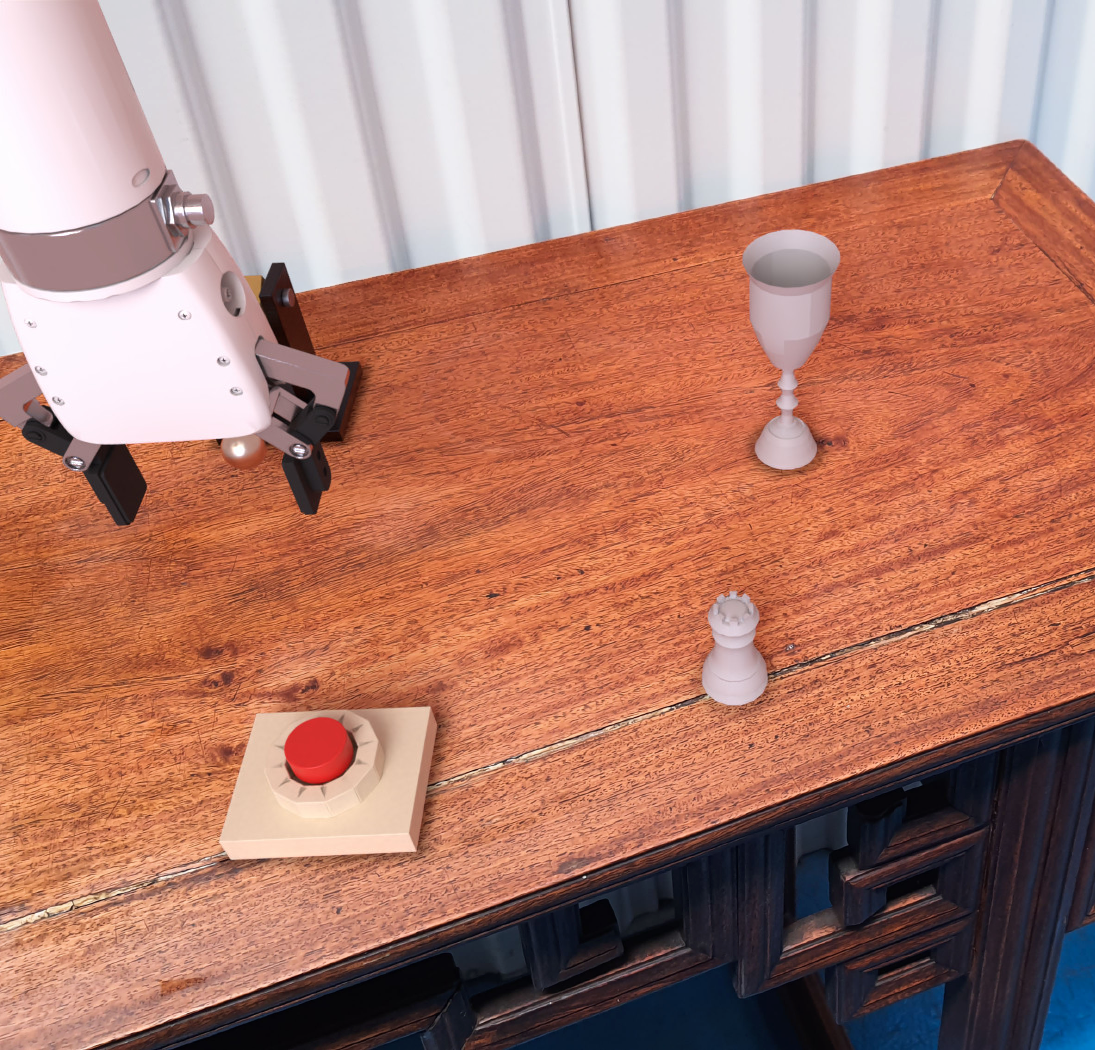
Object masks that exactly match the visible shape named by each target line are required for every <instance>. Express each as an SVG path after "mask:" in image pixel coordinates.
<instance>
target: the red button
mask: <svg viewBox="0 0 1095 1050" xmlns="http://www.w3.org/2000/svg"><path fill="white" fill-rule="evenodd" d="M284 754H285V757H286V759H287V761H288V763H289V765H290V766H291V768H292V770H293V772H294V774H295V775H296V777H297V778H299V779H300V780H302V781H304V782H306V783H311V784H321V783H325V782H329V781H331V780H333V779H335V778H337V777H338V776H340V775H341V774H342V773H343V772H344V771H345V770H346V769H347V768H348V767H349V765H350V763H351V761H352V758H353V754H354V749H353V745H352V743H351V741H350V738H349V736H348V734H347V732H346V729H345V728H344V726H343V725H342V724H341V723H340V722H339V721H337V720H335V719H332V718H328V717H318V718H313V719H310V720H307V721H305V722H303V723H301V724H300V725H298V726H297V727H296V728H295V729H294V730H293V731H292V732H291V733H290V734H289V736H288V737H287V739H286V742H285V746H284Z"/></svg>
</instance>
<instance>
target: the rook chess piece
mask: <svg viewBox="0 0 1095 1050" xmlns="http://www.w3.org/2000/svg"><path fill="white" fill-rule="evenodd" d="M728 594H729V595H728V596H725V595H724V593H721V594H720V595H718V596H717V597H716V601H715V602H714V603H713V604H712V605H711V606H710V608H709V610H708V612H707V622H708V623H709V626H710V627H711V635H712V637H713V640H714V645H713V648H711V650H710V651H709V653H708V654H707V656H706V657H705V659H704V661H703V664H702V672H701V685H702V688H703V689H704V691H705V693H706V694H707V695H708V696H709V697H710V698H712V699H713V700H714V701H715V702H718V703H721V704H723V705H726V706H743V705H746V704H749V703H751V702H754V701H755V700H757V699H758V698H759V697H760V696H761V695H762V694H763V693H764V691H765V690H766V688H767V686H768V682H769V681H768V680H769V679H768V677H769V676H768V671H767V670H768V669H767V663H766V661H765V659H764V657H763V656H762V653H761V652H760V651H759V650H758V648H757V647H756V646H755V643H754V638H755V637H756V633H757V631H756V629H757V625H758V624H759V621H760V611H759V609H758V607H757V606H756V604H755V603H753V602H752V601H751V597H750V596H749V595H747V593H743V594H742V595H741V596H740V595H738V591H737V590H729V593H728Z"/></svg>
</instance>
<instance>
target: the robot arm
mask: <svg viewBox="0 0 1095 1050" xmlns="http://www.w3.org/2000/svg"><path fill="white" fill-rule="evenodd" d="M134 87H135V86H134V85H133V83H132V81H131V77H130V76H129V73H128V71H127V68H126V66H125V63H124V60H123V59H122V56H121V53H120V51H119V49H118V46H117V44H116V41H115V39H114V36H113V34H112V32H111V29H110V27H109V25H108V22H107V20H106V17H105V15H104V12H103V10H102V7H101V5H100V2H99V0H0V258H1V260H2V261H1V263H0V286H1V289H2V294H3V297H4V301H5V305H6V308H7V311H8V314H9V318H10V321H11V324H12V327H13V329H14V332H15V335H16V338H17V341H18V343H19V346H20V347H21V350H22V352H23V354H24V358H25V359H26V361H27V363H25V364H23V365H21V366H20V367H18V368H16V369H15V370H13V371H12V372H10V373H8V374H6V375H4V376H3V377H1V378H0V418H1V419H2V420H3V421H5V422H7V423H8V424H9V425H11V426H12V427H13V428H18V429H20V430H21V435H22V437H23V438H24V439H25V440H26V441H28V443H29V442H30V443H32V444H33V445H36V446H38V447H40V448H42V449H45V450H46V451H48V452H51V453H53V454H55V455H58V456H59V457H62V458H61V461H62V464H63V465H64V467H65V468H67V469H68V470H71V471H73V472H77V473H80V472H82V474H83V475H84V477H85V478H86V481H87V482H88V484H89V485H90V488H91V489H92V491H93V493H94V494H95V496H96V497H97V499H98V501H99V502H100V503H101V504H102V505H104V506H105V509H106V510H107V511H108V513H109V514H110V517H111V518H112V520H113V521H114V523H115V525H116V526H118V527H124V526H126V527H127V526H130V525H131V524H132V523H134V522H135V520H136V518H137V515H138V512H139V510H140V507H141V505H142V502H143V500H144V498H145V495H146V493H147V490H148V484H147V481H146V479H145V477H144V475H143V473H142V472H141V470H140V468H139V466H138V465H137V463H136V461H135V459H134V458H133V457H134V456H133V455H132V453H131V451H130V450H129V448H128V446H127V445H129V444H130V445H131V444H151V443H152V444H153V443H172V442H174V443H175V442H188V441H189V442H191V441H207V440H216V439H221V438H233V437H242V436H248V435H253V434H254V435H256V436H258V437H260V438H261V439H263V440H265V441H266V442H268V443H270V444H269V445H271V446H273V447H275V448H276V449H278V450H279V451H281V452H283V456H282V457H281V458H282V459H281V468H282V470H283V473H284V475H285V478H286V480H287V482H288V485H289V487H290V490H291V492H292V495H293V497H294V499H295V501H296V504H297V507H298V509H299V511H300V513H302V514H304V516H315V515H317V513H318V512H319V511H318V510H319V507H320V503H321V499H322V495H323V492H328V491H329V490H330V487H331V484H332V469H331V467H330V464H329V461H328V458H327V455H326V453H325V450H324V448H323V446H322V442H320V440H321V439H322V437H323V436H324V435H325V434H326V433H327V432H328V431H329V430H330V429H331V428H332V427H333V425H334V424H335V421H336V417H337V414H338V411H339V408H340V405H341V402H342V399H343V396H344V393H345V390H346V386H347V382H348V378H349V375H350V371H349V368H348V367H347V366H346V365H343V364H341V363H338V362H339V361H334V360H331V359H328V358H324V357H322V356H318V355H316V356H315V355H312V354H309V353H306V352H302V351H299V350H296V349H293V348H289V347H286V346H283V345H280V344H278V342H277V340H276V338H275V336H274V333H273V331H272V329H271V327H270V325H269V323H268V321H267V319H266V317H265V315H264V313H263V311H262V309H261V307H260V305H259V303H258V301H257V299H256V297H255V295H254V293H253V291H252V290H251V288H250V286H249V284H248V282H247V281H246V279H245V277H244V276H245V275H244V274H243V271H242V270H241V269H240V266H238V264H237V262H236V261H235V259H234V258H233V256H232V255H231V253H230V252H229V250H228V249H227V247H226V246H225V245H224V242H222V240H221V239H220V237H219V236H218V235H217V233H216V232H215V230H214V229H213V228H212V227H211V226H210V225H213V224H214V222H215V208H214V203H213V200H212V198H211V197H210V195H209V194H207V193H193V194H192V192H190V191H183V190H182V188H181V187H180V186H179V184H178V180H177V179H176V176H175V174H174V171H173V169H167V166H166V163H165V161H164V158H163V156H162V153H161V150H160V148H159V146H158V143H157V141H156V138H155V136H154V133H153V131H152V129H151V126H150V124H149V122H148V119H147V117H146V114H145V112H144V109H143V107H142V105H141V102H140V100H139V97H138V95H137V92H136V90H135V88H134ZM286 383H290V384H293V385H296V386H300V387H303V388H306V389H309V390H311V391H312V392H313V393H314V394H315V397H314V398H313V399H312V400H311V401H310V402H309V403H308V404H306V403H305V402H303V401H301V400H300V399H298V398H297V397H295V396H293V395H292V394H290V393H289V392H287V391H286V390H284V389H282V388H281V387H279V386H278V385H277V384H286ZM41 395H43V396H44V398H45V400H46V403H47V404H48V405H45V404H40V403H41V401H39V400H38V399H37V398H38V397H39V396H41ZM273 412H275V413H277V414H278V415H280V416H282V417H283V418H285V419H286V420H288V421H290V422H291V424H290V425H289V426H287V425H286V424H284V423H283V422H281V421H279V420H278V419H276V418H274V417H272V415H273Z"/></svg>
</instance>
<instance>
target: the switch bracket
mask: <svg viewBox="0 0 1095 1050" xmlns="http://www.w3.org/2000/svg"><path fill="white" fill-rule="evenodd" d="M264 279H265V281H264V283H263V286H262V288H261V291H260V293H259V299H260V301H261V304H262V307H263V310H264V312H265V315H266V318H267V320H268V323H269V325H270V327H271V329H272V331H273V333H274V336H275V338H276V340H277V342H278V344H280V345H283V346H286V347H289V348H293V349H296V350H299V351H302V352H306V353H309V354H312V355H315V356H317V353H316V351H315V347H314V344H313V341H312V339H311V336H310V333H309V329H308V327H307V324H306V321H305V318H304V315H303V312H302V309H301V307H300V304H299V303H300V302H299V301H298V298H297V295H296V292H295V289H294V286H293V283H292V281H291V278H290V275H289V271H288V268H287V266H286V262H272V263H271V265H270V267H269V269H268V272H267V274H266V276H265V278H264ZM337 362H338V363H341V364H343V365H346V366H347V367H348V368H349V371H350V375H349V378H348V382H347V386H346V390H345V393H344V396H343V399H342V402H341V405H340V408H339V411H338V414H337V417H336V421H335V424H334V425H333V427H332V428H331V429H330V430H329V431H328V432H327V433H326V434H325V435H324V436H323V437H322V439H321V440H320V442H321V443H335V442H336V443H337V442H338V443H340V442H343V441H344V438H345V434H346V431H347V427H348V424H349V421H350V418H351V414H352V410H353V407H354V404H355V400H356V396H357V394H358V390H359V386H360V383H361V380H362V376H363V373H364V371H363V367H362V365H361V362H360V361H359V360H357V361H356V360H355V361H353V360H351V361H337ZM277 385H278V386H279V387H281V388H282V389H284V390H286V391H287V392H289V393H290V394H292V395H293V396H295V397H297V398H298V399H300V400H301V401H303V402H305V403H306V404H308V403H309V402H310V401H311V400H312V399H313V398H314V397H315V394H314V393H313V392H312V391H311V390H309V389H306V388H303V387H300V386H296V385H293V384H290V383H286V384H277ZM272 417H274V418H276V419H278V420H279V421H281V422H283V423H284V424H286V425H287V426H289V425H290V424H291V422H290V421H288V420H286V419H285V418H283V417H282V416H280V415H278V414H277V413H275V412H273V415H272ZM222 439H223V438H221V439H215V441H216V443H217V445H218V446H221V442H222ZM266 444H267V445H271V444H270V443H268V442H266Z"/></svg>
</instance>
